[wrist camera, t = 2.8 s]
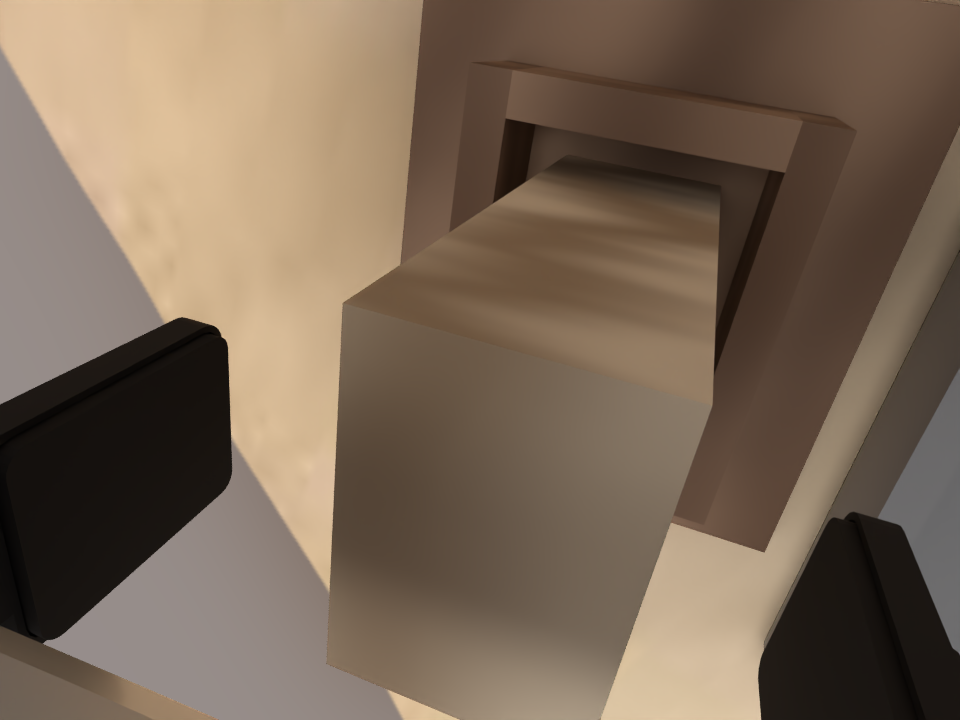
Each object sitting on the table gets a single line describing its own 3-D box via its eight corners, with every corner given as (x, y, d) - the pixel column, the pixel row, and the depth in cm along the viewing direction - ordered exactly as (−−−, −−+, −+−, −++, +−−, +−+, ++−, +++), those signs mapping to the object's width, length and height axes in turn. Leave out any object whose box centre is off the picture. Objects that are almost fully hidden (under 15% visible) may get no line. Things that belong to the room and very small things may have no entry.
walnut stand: (994, 15, 14) (1078, 3, 11) (762, 532, 21) (770, 624, 18) (443, -60, 17) (374, -86, 14) (397, 417, 24) (344, 477, 21)
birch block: (720, 185, 17) (712, 405, 6) (658, 388, 19) (582, 771, 9) (567, 154, 18) (342, 302, 7) (528, 352, 20) (326, 663, 10)
